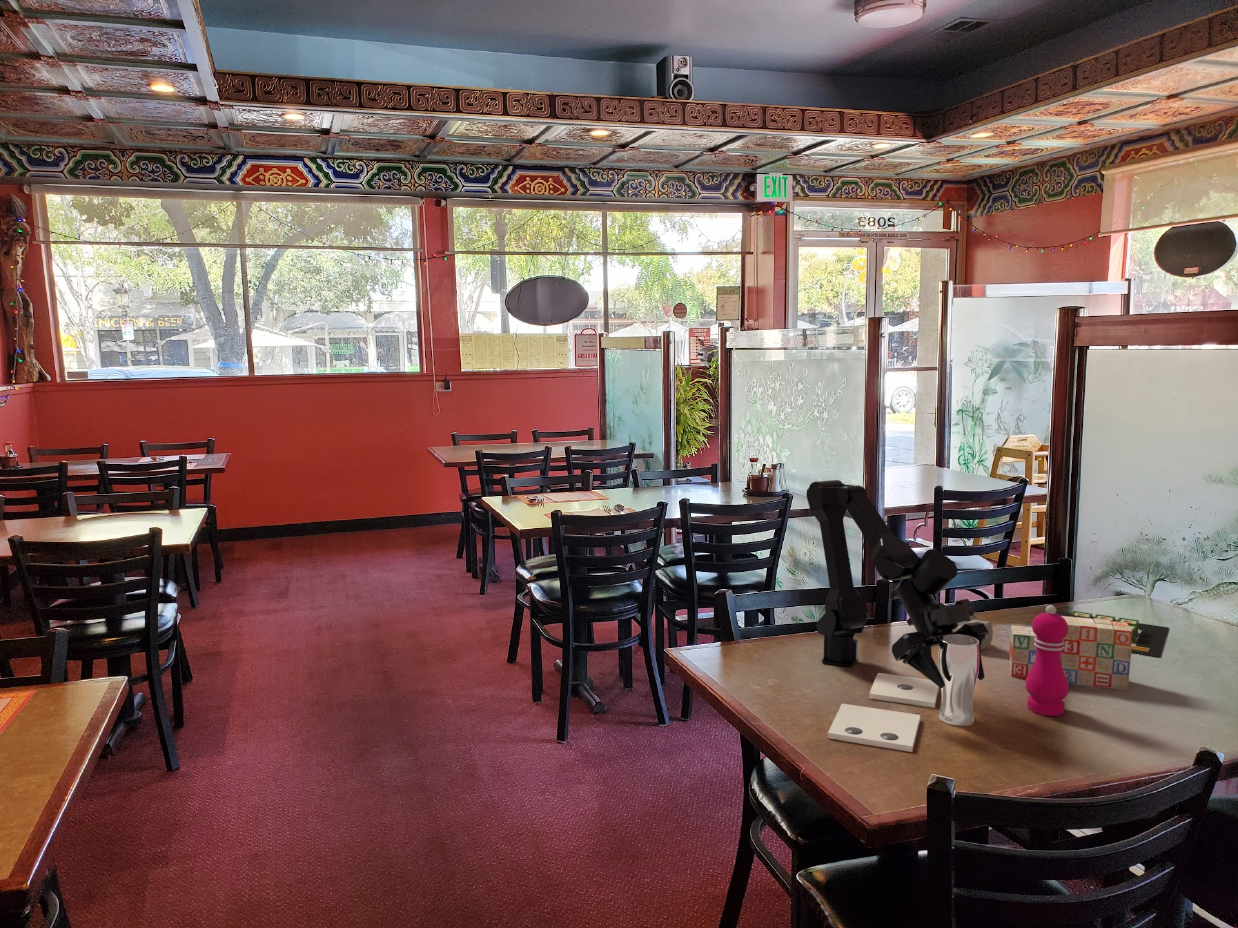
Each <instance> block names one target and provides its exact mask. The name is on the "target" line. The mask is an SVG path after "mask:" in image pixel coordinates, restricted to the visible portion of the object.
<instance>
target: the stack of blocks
mask: <svg viewBox="0 0 1238 928" xmlns="http://www.w3.org/2000/svg"><path fill="white" fill-rule="evenodd" d="M1061 617H1063V618H1064V619H1065V620H1066V622H1067V624H1068V633H1067V635H1066V637H1064V638H1063V641H1064V649H1063V650H1061V665H1062V669H1063V672H1064V674H1065V676H1066V679H1067V682H1068V684H1073V685H1081V686H1089V687H1090V686H1091V687H1096V688H1097V687H1099V688H1107V689H1115V690H1125V691H1128V690H1129V681H1130V680H1129V679H1130V668H1131V659H1132V654H1131V651H1132V646H1133V645H1132V643H1131V639H1132V630H1131V628H1130V627H1129V625H1128V624H1127V623H1126V622H1117V621H1110V620H1105V619H1095V618H1094V619H1090V618H1078V617H1077V618H1075V617H1066V616H1061ZM1010 627H1011V630H1010V643H1009V644H1010V645H1009V646H1010V647H1009V673H1010V677H1014V678H1023V679H1027V676H1028V673H1029V672H1030V670H1031V668H1032V666H1033V664H1034V662H1035V659H1036V653H1037V650H1036V646H1035V645H1034V643H1035V640H1034V638H1035V637H1037V636H1036V635H1035V633H1034V632H1033V629H1032V626H1022V625H1011V626H1010Z"/></svg>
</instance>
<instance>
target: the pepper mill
mask: <svg viewBox="0 0 1238 928" xmlns="http://www.w3.org/2000/svg"><path fill="white" fill-rule="evenodd" d="M1056 611H1057V608H1056V606H1054V605H1053V604H1050V605H1047V606H1046V608H1045V612H1043V613H1040V614H1038V615H1036V616H1035V617H1034V618H1033V620H1032V623H1031V627H1032V629H1033V632H1034V633H1035V635H1036V636H1037V637H1035V638H1034V640H1035V643H1034V645H1035V646H1036V650H1037V653H1036V659H1035V662H1034V664H1033V666H1032V668H1031V670H1030V672H1029V673H1028V676H1027V678H1025V685H1024V686H1025V689H1026V691H1027V693H1028V694H1029V696H1028V698H1027V705H1026V706H1027V707H1026V708H1027V709H1028V710H1029V711H1031V712H1032V713H1035V714H1038V715H1040V716H1046V717H1058V716H1062V715H1064V713H1065V708H1066V707H1065V705H1066V704H1065V701H1063V700H1064V699H1065V698H1066V697H1067V696H1068V694H1069V683H1068V682H1067V679H1066V676H1065V674H1064V672H1063V669H1062V665H1061V650H1063V649H1064V641H1063V638H1064V637H1066V635H1067V633H1068V624H1067V622H1066V620H1065V619H1064V618H1063V617H1061V616H1060V615H1058V614H1055V613H1056Z"/></svg>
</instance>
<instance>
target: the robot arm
mask: <svg viewBox="0 0 1238 928" xmlns="http://www.w3.org/2000/svg"><path fill="white" fill-rule="evenodd" d="M805 495H806V499H807V503H808V506H809V511H810V513H811V514H812V515H813V516H814V518H815V519H816V520H817V522H818V523H819V527H820V533H821V540H822V544H823V552H824V553H823V554H824V559H825V564H826V572H827V578H828V584H829V591H828V593H827V596H826V599H825V601H824V612H825V613H824V614H823V615H822V616H821V617H820V618H819V619H818V621H816V623H815V624H816V625H815V626H816V631H817V633H818V634H820V635H822V636H823V658H822V659H821V663H822V664H826V665H827V664H828V665H835V666H844V667H853V666H854V664H855V663H856V662H857V660H858V658H859V640H858V639H857V634H863V632H864V629H865V626H866V622H867V621H868V613H869V609H868V606H867V597H866V595H865V594H864V593H860V592H859V591H858V590H857V588H855V586H854V580H853V574H852V568H851V562H850V561H851V560H850V556H849V549H848V544H847V537H846V530H845V524H844V518H845V516H846V513H849V515H850V517H851V519H852V520H853V521H854V523H855V524H856V526H857V528H858V529H859V530H860V532H861V533H862V535H863V537H864V538H865V540H866V541H867V543H868V545H869V546H870V548H871V550H872V555H871V561H872V562H873V565H874V567H875V569H876V571H877V573H878V575H879V576H880V578H881V579H883V580H884V581H898V580H902V581H901V582H900V583H899V584H898V583H897V584H893V585H892V589H891V591H890V594H889V598H890V600H900V603H901V605H902V606H903V608H904V610H905V611H906V613H907V615H908V617H909V618H908V619H907V620H906V623H907V625H908V626H909V627H910V626H914V628H915V631H914V632H913V631H912V632H906V633H903V634H902V635H901V636H900V637H899V638H898V639H897V640H896V641H895V642H894V643H893V644H892V646H891V654H892V655H893V657H894V659H895V661H896V662H899V661H902V663H903V664H904V665H906V664H907V665H908V666H910V667H912V668H913V669H915V670H916V671H918V672H919V673H921V674H922V675H923V676H925V677H926V679H928V680H931V681H932V682H934V683H935V684H936V685H937V686H939V689H941V688H943V687H944V686H945V683H944V680H943V678H942V676H941V674H940V672H939V670H938V665H937V664H936V663H935V660H934V657H932V655H933V653H932V648H933V647H934V648H935V647H939V646H940V637H941V636H943V635H947V634H961V635H967V636H971V637H974V638H976V639H977V640H978V641H979V657H980V659H979V674H978V679H977V680H980V681H982V680H984V679H985V671H984V666H983V660H982V654H981V653H982V652H981V651H982V650H980V647H981V643H982V641H984V640H985V636H986V635H987V634H989V632H988V630H987V628H986V627H985V625H984V623H981V622H972V623H966V624H964V625H963V626H962V627H961V628H959V629H958V630H957V631H956V632H952V630H953V629H955V628H957V627H958V626H959V625H958V624H957V623H959V622H963V621H967V622H968V621H971V619H970V616H973V615H974V613H975V614H976V612H975V608H974V606H973V604H972V603H971V601H970V600H969V598H965V599H959V600H955V603H954V605H949V606H946V605H945V604H944V603H943V602H940V603H938V602H937V601H936V599H935V597H934V595H938V594H939V593H941V591H942V590H944V588H945V587H947V586H948V584H950V583H951V582H952V581H953V580H954V578H955V579H956V577H957V575H958V566H957V564H956V563H955V562H954V561H953V560H952V559H951V558H949V557H948V556H946V555H945V554H943V553H940V552H939V551H938V549H937V548H931V549H927V550H926V551H925V552H924V554H923V555H922V556H918V554H917V553H916V552H915V550H913V548H912V547H911V546H910V545H909V544H908V543H907V542H905V541H903V540H902V539H900V538H899V537H897V536H895V535H894V533H893V532H892V531H891V529H890V528H889V526H888V525H887V524H886V522H885V521H884V519H883V517H882V516H881V514H880V513H879V511H878V510H877V508H876V507H875V505H874V504H873V503H872V501H871V499H870V498H869V497H868V494H867V490H866V488H865V487H864V486H861V485H858V484H857V485H855V484H846V483H843V482H842V481H841V480H839V479H833V480H832V479H831V480H819V481H813V482H811V483H810V484H809V487H808V488H807V490H806V493H805Z"/></svg>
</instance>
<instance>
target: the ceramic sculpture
mask: <svg viewBox="0 0 1238 928" xmlns="http://www.w3.org/2000/svg"><path fill="white" fill-rule="evenodd" d="M970 619H971V621H968V622H967V621H963V622H959V623H957V624H958V625H959V626H958V627H957V628H955V629H953V630H952V632H956V631H957V630H958V629H959V628H961V627H962V626H963V625H964V624H966V623H972V622H981V623H984V625H985V627H986V628H987V630H988V632H989V634H987V635H986V636H985V640H984V641H982V643H981V647H980V651H984V650H985V649H987V648H988V647H989V646H991V643H992V642H993V637H994V636H993V635H994V631H993V626H992V623H991V621H990V620H987V621H981V620H979V618H978V616H977V614H976V612H975V613H974V615H973V616H970Z"/></svg>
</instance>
